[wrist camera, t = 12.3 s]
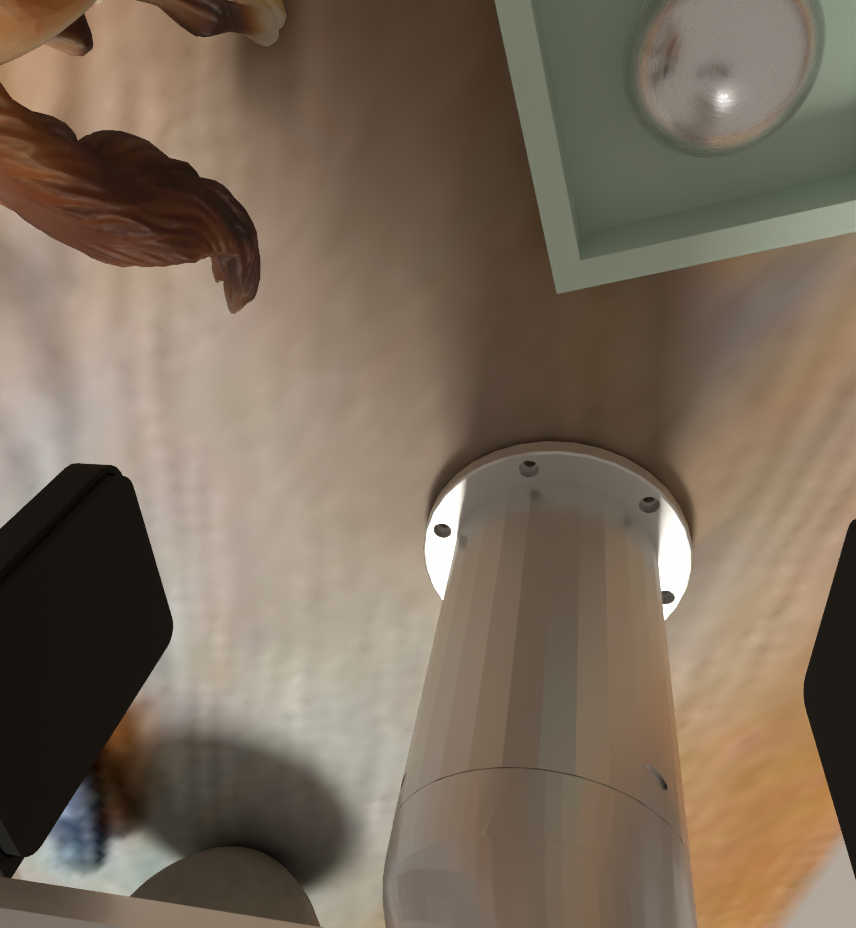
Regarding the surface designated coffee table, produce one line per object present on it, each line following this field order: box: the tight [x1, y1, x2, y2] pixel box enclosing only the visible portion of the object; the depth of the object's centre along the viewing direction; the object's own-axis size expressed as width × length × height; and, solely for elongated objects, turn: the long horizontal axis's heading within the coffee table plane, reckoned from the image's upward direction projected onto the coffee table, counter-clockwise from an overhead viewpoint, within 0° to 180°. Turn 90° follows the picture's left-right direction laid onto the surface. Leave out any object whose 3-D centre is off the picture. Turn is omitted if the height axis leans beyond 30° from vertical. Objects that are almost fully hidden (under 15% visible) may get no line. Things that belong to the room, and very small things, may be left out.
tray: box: [495, 0, 856, 294], centre depth 24 cm, size 12×12×4 cm
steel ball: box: [622, 0, 826, 158], centre depth 23 cm, size 6×6×6 cm
